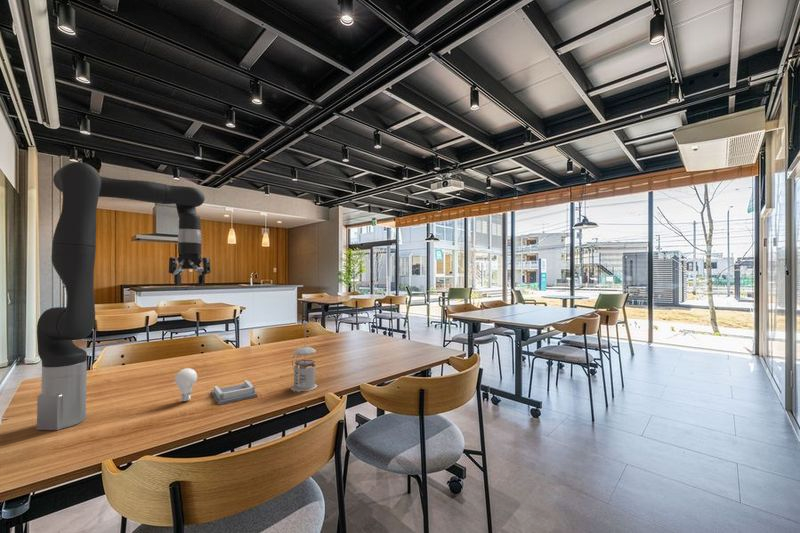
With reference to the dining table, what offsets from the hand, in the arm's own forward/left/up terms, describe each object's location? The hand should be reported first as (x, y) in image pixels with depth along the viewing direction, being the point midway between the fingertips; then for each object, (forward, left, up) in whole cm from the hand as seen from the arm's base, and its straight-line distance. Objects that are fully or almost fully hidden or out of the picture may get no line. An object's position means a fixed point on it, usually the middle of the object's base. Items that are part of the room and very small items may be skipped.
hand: (189, 285), depth 127 cm
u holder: (-6, -20, -39) cm, 44 cm away
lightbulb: (-12, -7, -39) cm, 41 cm away
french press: (+3, -42, -39) cm, 57 cm away
